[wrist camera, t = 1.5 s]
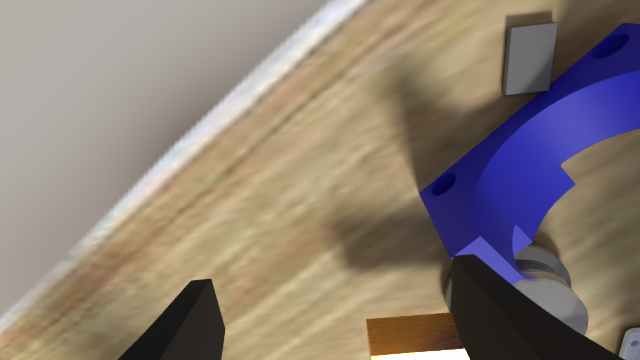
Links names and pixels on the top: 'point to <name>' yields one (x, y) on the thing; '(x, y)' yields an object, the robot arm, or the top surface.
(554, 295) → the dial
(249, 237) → the top surface
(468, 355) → the robot arm
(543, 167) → the cable clip
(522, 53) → the grey block
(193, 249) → the top surface
